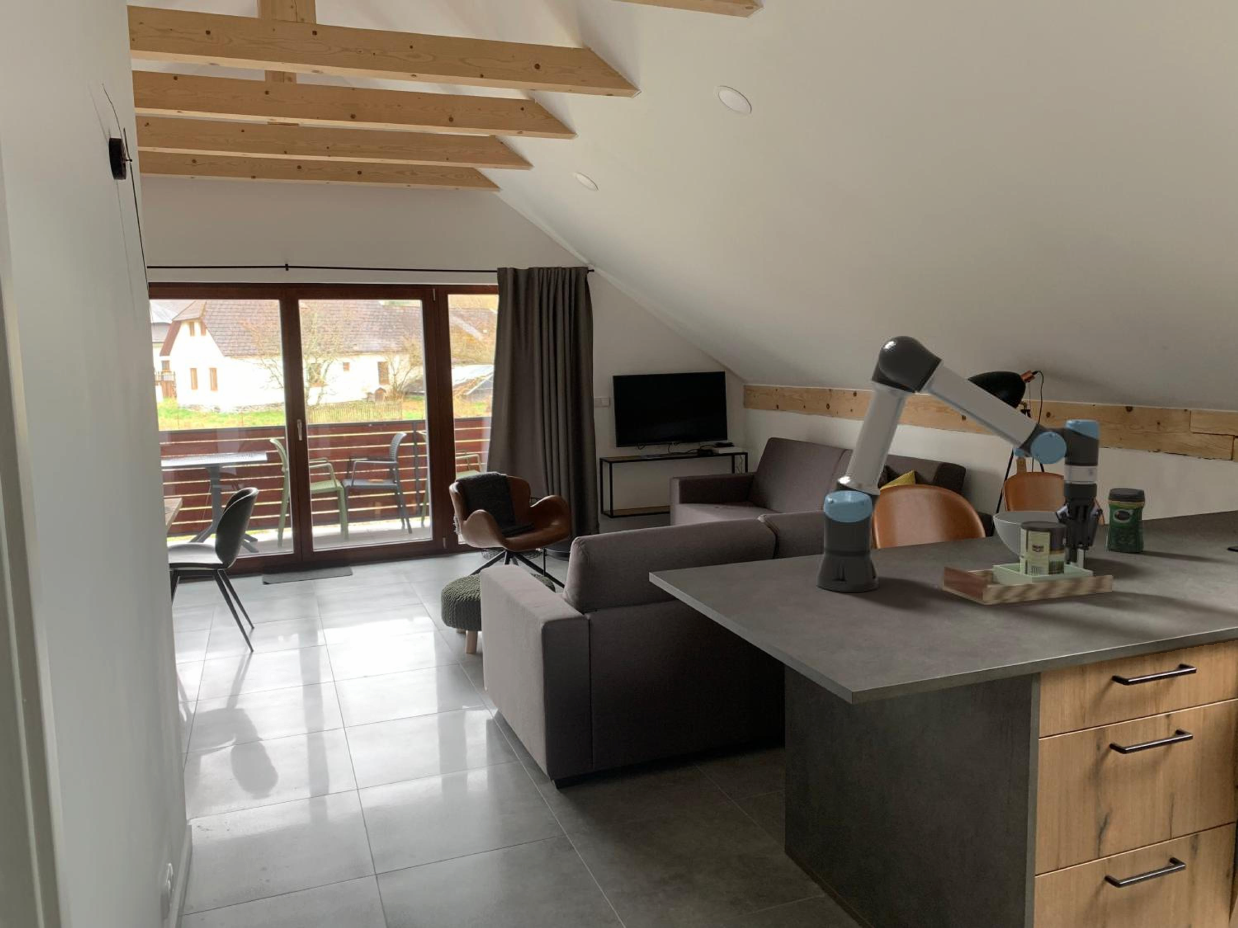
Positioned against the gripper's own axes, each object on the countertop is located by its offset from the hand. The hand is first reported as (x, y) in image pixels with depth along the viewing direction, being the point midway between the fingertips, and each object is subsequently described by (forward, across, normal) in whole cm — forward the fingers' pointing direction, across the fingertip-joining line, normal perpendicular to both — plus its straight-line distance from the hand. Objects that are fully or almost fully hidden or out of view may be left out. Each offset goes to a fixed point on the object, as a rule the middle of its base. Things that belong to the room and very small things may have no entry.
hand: (1076, 574), depth 233 cm
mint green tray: (+1, -11, 0) cm, 11 cm away
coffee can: (+1, -11, 0) cm, 11 cm away
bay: (+3, -15, 0) cm, 15 cm away
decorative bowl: (+3, +14, +26) cm, 30 cm away
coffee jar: (+3, +46, +29) cm, 54 cm away
